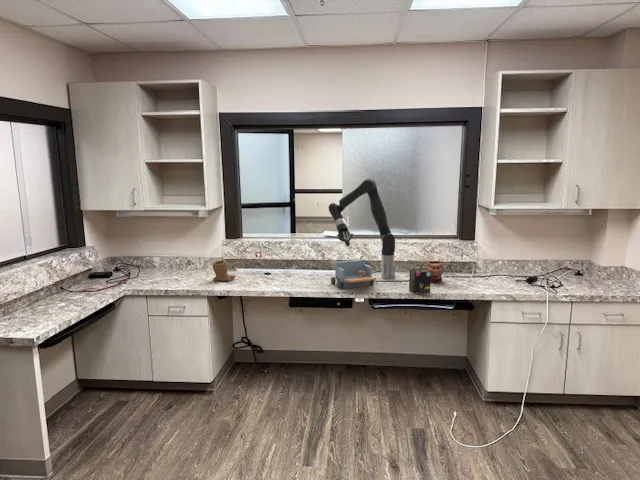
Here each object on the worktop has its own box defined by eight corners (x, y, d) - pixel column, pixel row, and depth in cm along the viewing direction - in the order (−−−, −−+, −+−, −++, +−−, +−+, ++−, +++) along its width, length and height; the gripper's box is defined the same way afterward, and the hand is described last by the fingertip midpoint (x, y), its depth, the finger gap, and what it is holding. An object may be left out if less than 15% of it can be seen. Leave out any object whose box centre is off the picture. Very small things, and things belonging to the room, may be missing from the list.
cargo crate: (362, 275, 290) (362, 270, 290) (365, 277, 287) (365, 271, 286) (357, 276, 289) (357, 270, 288) (360, 277, 285) (360, 272, 285)
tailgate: (370, 276, 285) (376, 277, 276) (370, 279, 285) (376, 280, 276) (345, 279, 278) (350, 280, 270) (345, 282, 278) (350, 283, 270)
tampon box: (415, 294, 266) (416, 272, 263) (408, 290, 274) (409, 269, 272) (430, 293, 269) (431, 271, 266) (423, 289, 277) (424, 267, 275)
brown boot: (210, 282, 300) (209, 262, 298) (216, 278, 312) (215, 258, 309) (230, 283, 298) (229, 262, 295) (236, 278, 309) (235, 259, 307)
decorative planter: (422, 277, 308) (423, 258, 305) (439, 277, 307) (440, 258, 305) (428, 284, 288) (429, 265, 286) (446, 284, 287) (447, 265, 285)
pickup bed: (363, 279, 304) (363, 257, 301) (374, 285, 288) (374, 262, 285) (330, 282, 295) (330, 260, 292) (339, 289, 279) (339, 266, 277)
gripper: (334, 223, 297) (341, 243, 288) (351, 222, 302) (358, 241, 293) (331, 229, 303) (338, 249, 294) (348, 228, 308) (355, 247, 298)
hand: (348, 245), depth 293 cm, fingers closed
